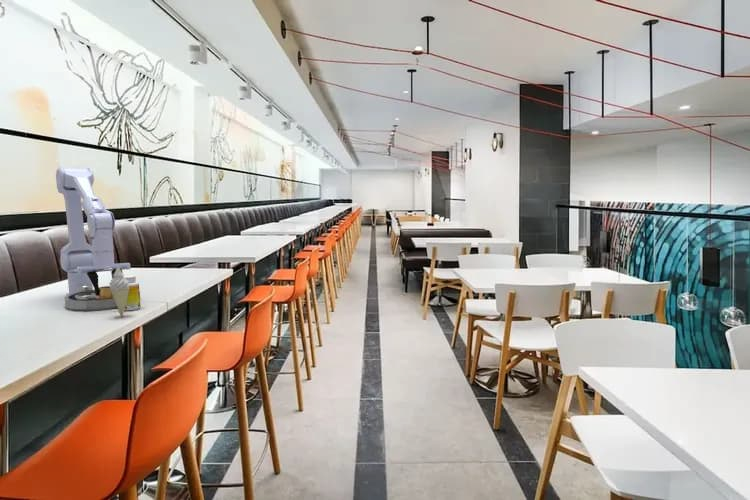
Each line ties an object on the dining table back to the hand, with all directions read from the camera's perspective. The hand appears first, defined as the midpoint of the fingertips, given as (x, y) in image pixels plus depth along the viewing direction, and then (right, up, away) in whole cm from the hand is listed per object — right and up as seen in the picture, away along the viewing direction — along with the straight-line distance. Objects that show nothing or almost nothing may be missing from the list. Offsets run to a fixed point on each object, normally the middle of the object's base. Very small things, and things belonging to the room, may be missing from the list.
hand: (106, 294), depth 155 cm
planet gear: (0, -3, 0) cm, 3 cm away
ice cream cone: (+11, -5, -12) cm, 17 cm away
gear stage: (-3, -3, +5) cm, 7 cm away
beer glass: (+9, -5, -3) cm, 11 cm away
